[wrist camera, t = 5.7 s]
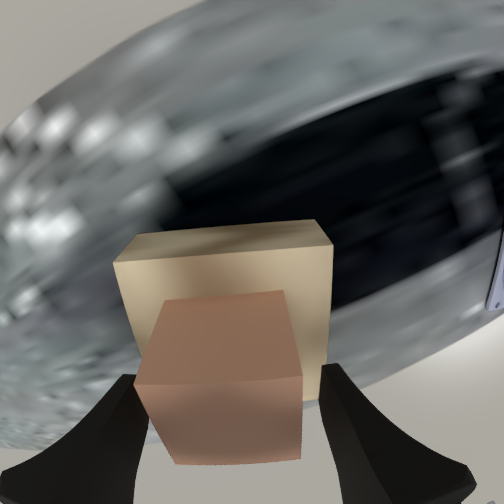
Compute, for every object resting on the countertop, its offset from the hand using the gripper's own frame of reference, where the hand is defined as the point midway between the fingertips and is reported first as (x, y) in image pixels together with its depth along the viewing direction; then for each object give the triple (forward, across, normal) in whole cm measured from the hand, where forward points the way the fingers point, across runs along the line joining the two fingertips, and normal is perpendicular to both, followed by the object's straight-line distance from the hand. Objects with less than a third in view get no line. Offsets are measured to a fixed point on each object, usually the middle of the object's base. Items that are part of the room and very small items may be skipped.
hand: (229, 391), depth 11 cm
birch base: (+6, 0, 0) cm, 6 cm away
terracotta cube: (+3, 0, 0) cm, 3 cm away
